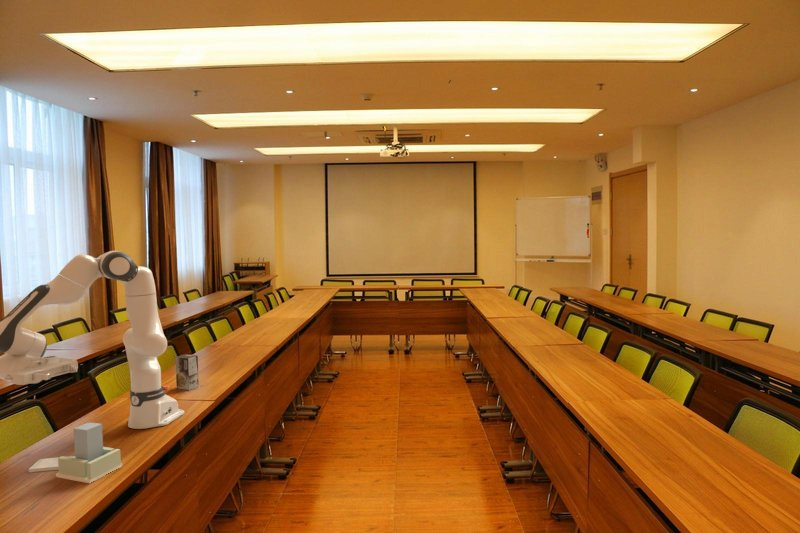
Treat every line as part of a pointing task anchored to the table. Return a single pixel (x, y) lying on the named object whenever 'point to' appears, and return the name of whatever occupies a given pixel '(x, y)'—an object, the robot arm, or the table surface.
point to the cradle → (89, 466)
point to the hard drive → (46, 464)
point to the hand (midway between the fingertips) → (62, 373)
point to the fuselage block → (88, 441)
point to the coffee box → (187, 371)
